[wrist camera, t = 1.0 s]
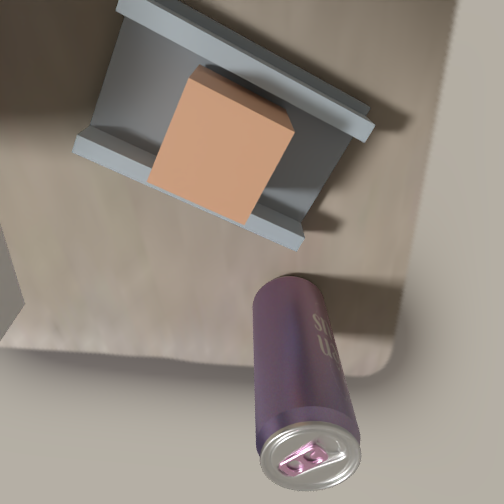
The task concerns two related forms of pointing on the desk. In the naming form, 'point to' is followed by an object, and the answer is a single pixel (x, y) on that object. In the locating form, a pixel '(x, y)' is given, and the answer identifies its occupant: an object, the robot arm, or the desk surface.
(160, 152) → the block
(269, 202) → the chute
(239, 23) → the desk surface
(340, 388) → the beverage can
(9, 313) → the robot arm
